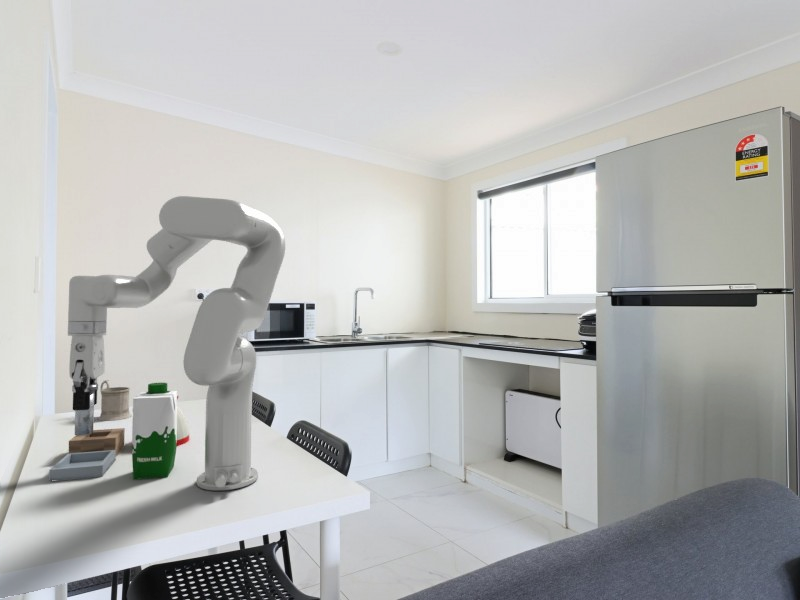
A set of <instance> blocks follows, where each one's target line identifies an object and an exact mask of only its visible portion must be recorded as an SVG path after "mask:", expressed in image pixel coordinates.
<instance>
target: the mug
mask: <svg viewBox="0 0 800 600" xmlns="http://www.w3.org/2000/svg"><path fill="white" fill-rule="evenodd" d="M109 381H110V380H108V379H106V380H103V381H102V383H101V384H100V394H101V401H100V402H101V404H100V405H101V409H100V416H98V418H97V420H98V421H103V422H115V421H120V420H121V421H122V420H126V419H129V418H132V417H133V414H131V413H130V390H131V387H127V386H117V387H110V384H109ZM104 384H105V385H106V388H104Z"/></svg>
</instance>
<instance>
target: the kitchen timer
mask: <svg viewBox="0 0 800 600" xmlns="http://www.w3.org/2000/svg"><path fill="white" fill-rule="evenodd" d="M178 399H179V395H177V400H178ZM189 441H190V429H189V426H188V422H187V419H186V416H185V414H184V413H183V411H182V409H181V408H180V407H179V406H178V405H177V447H179V446H182V445H184V444H186V443H188V442H189Z"/></svg>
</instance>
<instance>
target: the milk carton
mask: <svg viewBox="0 0 800 600" xmlns="http://www.w3.org/2000/svg"><path fill="white" fill-rule="evenodd" d="M177 396H178V391H177V390H168V382H151V383H148V385H147V391H141V392H140V393H138V394H136V395H135V397H133V398H132V426H131V428H132V431H131V434H132V435H131V437H132V438H131V440H132V441H131V461H132V479H133V481H134V480H144V479H145V480H146V479H157V478H168V477H169V476H170V474H171V472H172V470H173V469H174V467H175V461H176V453H177V448H178V446H177V406H178V399H177Z"/></svg>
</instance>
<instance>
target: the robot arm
mask: <svg viewBox="0 0 800 600" xmlns="http://www.w3.org/2000/svg"><path fill="white" fill-rule="evenodd" d="M158 220H159V224H160V226H161V227H162V229H160V230H159V231H157V233H155V234H154V235H153V236H151V237H150V238H149V239H148V240H147V242H146V250H147V252H148V254H149V256H150V258H151V259H152V262H151V263H150V264H149V266H148V267H146V268H145V269H144V270H143V271H141V272H140V273H139V274H137V275H136V276H133V275H132V276H131V275H116V274H100V275H96V276H95V275H74V276H72V277H71V278H70V279H69V281H68V282H69V286H68V313H67V314H68V315H67V316H68V317H67V336H68V337H69V336H70V337H71V340H70V341H71V343H70V350H69V364H68V365H69V366H68V369H69V377H70V379H72V383H73V384H72V386H74V387H73V391H72V411H75V410H88V409H89V408H90V392H88V391H89V383H96V384H98V378H99V377H101V376H102V375H103V374H105V340H104V336H107V324H108V323H107V321H108V319H107V318H108V317H107V316H108V309H121V308H122V309H123V308H126V309H129V308H130V309H138V308H141V307H144V306H147V305H148V304H151V303H152V302H153V301H155V300H156V299H157V298H158V297H160V296H161V295H162V294H163V293H165V292H166V291H167V290H168V289H169V288H170V286H171V284H172V283H173V281H174V280H175V277H176V275H177V271H178V268H180V267H181V266H182V265H184V264H185V263H186V262H187V261H188V260H190V258H192V257H193V256H194V255H196V254H197V253H198V252H200V250H201V249H203V248H205V246H207V245H208V244H210V242H212V241H221V242H226V243H227V242H228V243H231V244H235V245H239V246H243V247H244V248H246V249H247V252H246V253H245V255H244V256H243V258H242V259H241V261H240V263H238V266H237V269H236V273H235V275H234V279H233V281H232V284H231V286H230V287H222V288H217V289H215V290H213V291H211V292H210V293H209V294H207V295H206V297H205V298H204V299H203V300H202V302H201V303H200V305H199V307H198V310H197V313H196V316H195V319H194V322H193V325H192V328H191V332H190V335H189V338H188V341H187V343H186V347H185V351H184V355H183V361H182V362H183V369H184V373H185V375H186V376H187V378H188V379H189V380H190V381H191V382H192V383H193V384H196V385H198V386H203V387H204V386H205V387H207V386H208V389H207V392H206V401H205V428H204V429H205V430H204V431H205V433H204V434H205V435H204V436H205V437H204V439H205V440H204V447H205V448H204V472H202V473H200V474H199V475H198V476H197V477H196V485H197V487H199V488H200V489H203V490H207V491H217V492H218V491H232V490H237V489H239V488H240V489H241V488H244V487H247V486H250V485H251V484H254V482H256V481H257V480H258V478H259V471H258V470H257V469H255V468H254V467H252V421H253V419H252V418H253V417H252V414H253V412H252V411H253V409H252V408H253V406H252V405H253V389H254V388H253V386H254V378H255V375H256V374H255V373H256V368H257V353H256V349H255V348H254V346H253V344H252V343H251V341H249V340H247V339H246V338H245V337H242V336H239V334H245V333H250V332H253V331H256V330H257V329H259V327H261V325H262V324H263V321H264V319H265V316H266V314H267V311H268V308H269V303H270V302H271V299H272V295H273V292H274V288H275V284H276V281H277V278H278V275H279V272H280V270H281V267H282V264H283V261H284V257H285V252H286V239H285V237H284V233H283V231H282V229H281V228H280V226H279V225H278V224H277V222H275V220H274V219H272V218H271V217H270V216H269V215H267V214H266V213H264V212H262V211H260V210H257V209H256V208H254V207H251V206H248V205H247V204H244V203H241V202H239V201H236V200H234V199H233V200H232V199H228V198H227V199H225V198H216V197H203V196H202V197H201V196H200V197H199V196H187V195H178V196H175V197H171V198H170V199H168V200H167V201H166V202H164V204H162V206H161V208H160V210H159V214H158ZM97 403H98V390H96V391H94V406H96V405H97Z"/></svg>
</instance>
